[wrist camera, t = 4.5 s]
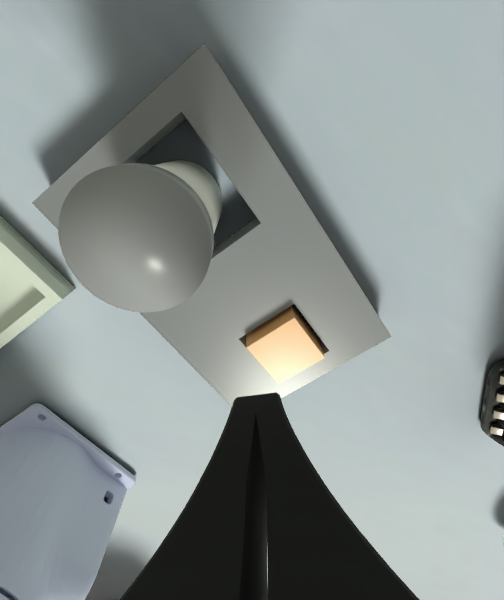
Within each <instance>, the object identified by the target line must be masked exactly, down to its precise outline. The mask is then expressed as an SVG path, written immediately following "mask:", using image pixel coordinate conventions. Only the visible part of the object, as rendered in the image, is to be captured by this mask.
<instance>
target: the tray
mask: <svg viewBox="0 0 504 600" xmlns="http://www.w3.org/2000/svg"><path fill="white" fill-rule="evenodd" d="M74 289H75V287H74V286H73V285H72V284H71V283H70V282H69V281H68V280H67V279H66V278H65V277H64V276H63V275H61V274H60V273H59V272H58V271H57V270H56V269H55V268H54V267H53V266H52V265H51V264H50V263H49V262H48V261H47V260H46V259H45V258H44V257H43V256H42V255H41V254H40V253H39V252H38V251H37V250H36V249H35V248H34V247H33V246H31V245H30V244H29V243H28V242H27V241H26V240H25V239H24V238H23V237H22V236H21V235H20V234H19V233H18V232H17V231H16V230H15V229H14V228H13V227H12V226H11V225H10V224H9V223H8V222H7V221H6V220H5V219H4V218H3V217H1V216H0V348H2V347H3V346H4V345H5V344H7V343H8V342H9V341H10V340H12V339H13V338H14V337H15V336H17V335H18V334H19V333H20V332H22V331H23V330H24V329H25V328H27V327H28V326H29V325H31V324H32V323H33V322H34V321H36V320H37V319H38V318H39V317H41V316H42V315H43V314H44V313H46V312H47V311H48V310H49V309H51V308H52V307H53V306H54V305H56V304H57V303H58V302H59V301H61V300H62V299H63V298H64V297H66V296H67V295H68V294H69V293H70V292H72V291H73V290H74Z"/></svg>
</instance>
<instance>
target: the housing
mask: <svg viewBox="0 0 504 600" xmlns="http://www.w3.org/2000/svg"><path fill="white" fill-rule="evenodd" d="M186 118H187V120H188V121H189V123H190V124H191V125H192V127H193V128H194V130H195V131H196V132H197V134H198V135H199V137H200V138H201V139H202V141H203V142H204V144H205V145H206V146H207V148H208V149H209V151H210V152H211V154H212V155H213V156H214V158H215V159H216V161H217V162H218V163H219V165H220V166H221V168H222V169H223V170H224V172H225V173H226V175H227V176H228V177H229V179H230V180H231V182H232V183H233V184H234V186H235V187H236V189H237V190H238V192H239V193H240V194H241V196H242V197H243V199H244V200H245V201H246V203H247V204H248V206H249V207H250V208H251V210H252V211H253V213H254V214H255V215H256V218H255V219H254V220H252V221H251V222H249V223H248V224H247V225H245V226H244V227H243V228H241V229H240V230H238V231H237V232H236V233H234V234H233V235H232V236H230V237H229V238H228V239H226V240H225V241H223V242H222V243H221V244H219V245H218V246H217V247H215V248H214V249H213V254H212V258H211V261H210V265H209V268H208V271H207V274H206V276H205V278H204V280H203V282H202V283H201V285H200V286H199V288H198V289H197V290H196V291H195V292H194V293H193V294H192V295H191V296H190V297H189V298H188V299H186V300H185V301H184V302H182V303H180V304H179V305H177V306H174V307H172V308H170V309H166V310H163V311H157V312H145V313H144V312H139V313H140V314H141V315H142V316H143V317H144V318H145V319H146V320H147V321H148V322H149V323H150V324H151V325H152V326H153V327H154V328H155V329H156V330H157V331H158V332H159V333H160V334H161V335H162V336H163V337H164V338H165V339H166V340H167V341H168V342H169V343H170V344H171V345H172V346H173V347H174V348H175V349H176V350H177V352H178V353H179V354H180V355H181V356H182V357H183V358H184V359H185V360H186V361H187V362H188V363H189V364H190V365H191V366H192V367H193V368H194V369H195V370H196V371H197V372H198V373H199V374H200V375H201V376H202V377H203V378H204V379H205V380H206V381H207V382H208V383H209V384H210V385H211V386H212V387H213V388H214V389H215V390H216V391H217V392H218V393H219V394H220V395H221V396H222V397H223V398H224V400H225V401H226V402H227V403H228V404H229V405H230V406H231V407H232V405H233V402H234V400H235V399H236V398H237V397H243V396H251V395H259V394H267V393H275V392H276V393H278V394H279V395H280V397H281V398H283V397H284V396H286V395H288V394H290V393H291V392H293V391H295V390H297V389H299V388H300V387H302V386H304V385H306V384H308V383H309V382H311V381H313V380H315V379H316V378H318V377H320V376H322V375H324V374H325V373H327V372H329V371H331V370H333V369H334V368H336V367H338V366H340V365H341V364H343V363H345V362H347V361H349V360H350V359H352V358H354V357H356V356H358V355H359V354H361V353H363V352H365V351H366V350H368V349H370V348H372V347H374V346H375V345H377V344H379V343H381V342H383V341H384V340H386V339H388V338H390V337H391V335H390V333H389V332H388V330H387V329H386V327H385V326H384V324H383V322H382V321H381V319H380V318H379V316H378V315H377V313H376V311H375V310H374V308H373V307H372V305H371V304H370V302H369V300H368V299H367V297H366V296H365V294H364V293H363V291H362V289H361V288H360V286H359V285H358V283H357V281H356V280H355V278H354V277H353V275H352V274H351V272H350V270H349V269H348V267H347V266H346V264H345V263H344V261H343V259H342V258H341V256H340V255H339V253H338V252H337V250H336V248H335V247H334V245H333V244H332V242H331V241H330V239H329V237H328V236H327V234H326V233H325V231H324V230H323V228H322V226H321V225H320V223H319V222H318V220H317V219H316V217H315V215H314V214H313V212H312V211H311V209H310V208H309V206H308V204H307V203H306V201H305V200H304V198H303V197H302V195H301V193H300V192H299V190H298V189H297V187H296V186H295V184H294V182H293V181H292V179H291V178H290V176H289V175H288V173H287V171H286V170H285V168H284V167H283V165H282V164H281V162H280V160H279V159H278V157H277V156H276V154H275V153H274V151H273V149H272V148H271V146H270V145H269V143H268V141H267V140H266V138H265V137H264V135H263V134H262V132H261V130H260V129H259V127H258V126H257V124H256V123H255V121H254V119H253V118H252V116H251V115H250V113H249V112H248V110H247V108H246V107H245V105H244V104H243V102H242V101H241V99H240V97H239V96H238V94H237V93H236V91H235V90H234V88H233V86H232V85H231V83H230V82H229V80H228V79H227V77H226V75H225V74H224V72H223V71H222V69H221V68H220V66H219V64H218V63H217V61H216V60H215V58H214V57H213V55H212V53H211V52H210V50H209V49H208V47H207V46H206V44H205V43H204V44H203V45H202V46H201V47H200V48H199V49H198V50H197V51H196V52H194V53H193V54H192V55H191V56H190V57H189V58H188V59H187V60H186V61H185V62H184V63H183V64H182V65H180V66H179V67H178V68H177V69H176V70H175V71H174V72H173V73H172V74H171V75H170V76H169V77H167V78H166V79H165V80H164V81H163V82H162V83H161V84H160V85H159V86H158V87H157V88H156V89H155V90H153V91H152V92H151V93H150V94H149V95H148V96H147V97H146V98H145V99H144V100H143V101H142V102H140V103H139V104H138V105H137V106H136V107H135V108H134V109H133V110H132V111H131V112H130V113H129V114H128V115H126V116H125V117H124V118H123V119H122V120H121V121H120V122H119V123H118V124H117V125H116V126H115V127H113V128H112V129H111V130H110V131H109V132H108V133H107V134H106V135H105V136H104V137H103V138H102V139H101V140H99V141H98V142H97V143H96V144H95V145H94V146H93V147H92V148H91V149H90V150H89V151H88V152H86V153H85V154H84V155H83V156H82V157H81V158H80V159H79V160H78V161H77V162H76V163H75V164H74V165H72V166H71V167H70V168H69V169H68V170H67V171H66V172H65V173H64V174H63V175H62V176H61V177H59V178H58V179H57V180H56V181H55V182H54V183H53V184H52V185H51V186H50V187H49V188H48V189H47V190H45V191H44V192H43V193H42V194H41V195H40V196H39V197H38V198H37V199H36V200H35V201H34V202H32V203H33V204H34V205H35V206H36V208H37V209H38V210H39V211H40V212H41V213H42V214H43V215H44V216H45V217H46V218H47V219H48V220H49V221H50V222H51V223H52V224H53V225H54V226H55V227H56V228H57V229H58V223H59V216H60V212H61V208H62V205H63V203H64V201H65V198H66V196H67V195H68V193H69V192H70V191H71V189H72V188H73V187H74V186H75V185H76V184H77V183H78V182H79V181H80V180H81V179H82V178H84V177H85V176H86V175H88V174H90V173H92V172H94V171H96V170H99V169H102V168H105V167H110V166H115V165H121V164H127V163H135V162H136V161H137V160H139V159H140V158H141V157H142V156H143V155H144V154H145V153H147V152H148V151H149V150H150V149H151V148H152V147H153V146H155V145H156V144H157V143H158V142H159V141H160V140H162V139H163V138H164V137H165V136H166V135H167V134H168V133H170V132H171V131H172V130H173V129H174V128H175V127H176V126H178V125H179V124H180V123H181V122H182V121H183V120H184V119H186ZM293 304H295V305H296V307H297V308H298V309H299V311H300V312H301V313H302V315H303V316H304V317H305V319H306V320H307V321H308V323H309V324H310V325H311V327H312V328H313V329H314V331H315V332H316V333H317V338H318V340H319V343H320V346H321V348H322V351H323V354H324V357H325V358H324V359H322V360H320V361H318V362H317V363H315V364H313V365H312V366H310V367H308V368H306V369H305V370H303V371H301V372H299V373H298V374H296V375H294V376H292V377H291V378H289V379H287V380H285V381H284V382H282V383H280V384H277V382H276V381H275V380H274V379H273V378H272V377H271V376H270V374H269V373H268V372H267V371H266V370H265V369H264V367H263V366H262V365H261V364H260V363H259V362H258V361H257V359H256V358H255V357H254V356H253V355H252V354H251V353H250V351H249V350H248V349H247V348H246V334H247V333H249V332H250V331H252V330H254V329H255V328H257V327H258V326H260V325H261V324H263V323H265V322H266V321H268V320H269V319H271V318H273V317H274V316H276V315H277V314H279V313H280V312H282V311H284V310H285V309H287V308H288V307H290V306H291V305H293Z"/></svg>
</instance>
